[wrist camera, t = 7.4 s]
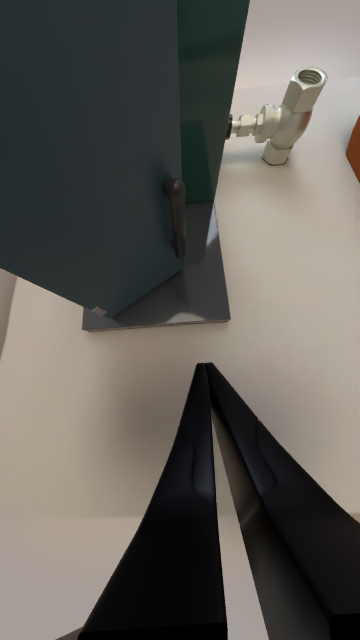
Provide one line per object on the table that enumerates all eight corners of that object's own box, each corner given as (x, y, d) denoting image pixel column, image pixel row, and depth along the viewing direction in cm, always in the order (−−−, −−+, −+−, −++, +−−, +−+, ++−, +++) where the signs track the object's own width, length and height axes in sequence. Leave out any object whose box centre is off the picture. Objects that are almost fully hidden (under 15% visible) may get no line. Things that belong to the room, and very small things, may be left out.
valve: (285, 138, 23) (205, 144, 24) (323, 55, 17) (212, 65, 17) (293, 172, 22) (207, 177, 22) (339, 95, 15) (216, 105, 16)
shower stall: (227, 321, 17) (462, 132, 3) (88, 331, 18) (-391, 218, 3) (212, 206, 21) (273, -148, 6) (96, 217, 21) (-107, -92, 7)
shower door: (191, 276, 17) (220, -186, 2) (115, 329, 16) (-569, 80, 2) (181, 264, 17) (156, -200, 3) (107, 315, 16) (-508, 9, 2)
